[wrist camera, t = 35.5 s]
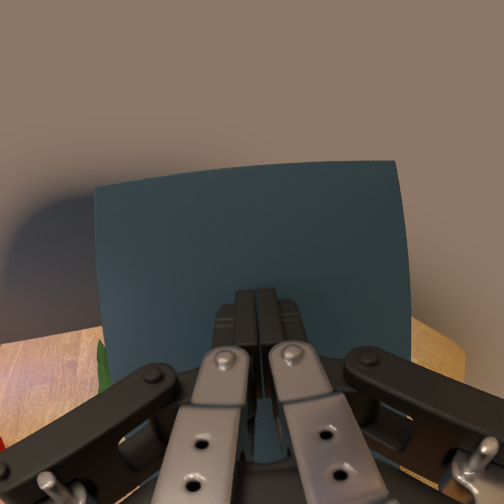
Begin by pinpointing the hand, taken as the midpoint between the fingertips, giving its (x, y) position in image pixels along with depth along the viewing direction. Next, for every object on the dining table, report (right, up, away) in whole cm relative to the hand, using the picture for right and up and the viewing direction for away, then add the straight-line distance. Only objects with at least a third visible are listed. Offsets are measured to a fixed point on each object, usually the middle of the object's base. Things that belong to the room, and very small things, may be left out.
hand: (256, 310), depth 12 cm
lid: (0, -2, +1) cm, 3 cm away
